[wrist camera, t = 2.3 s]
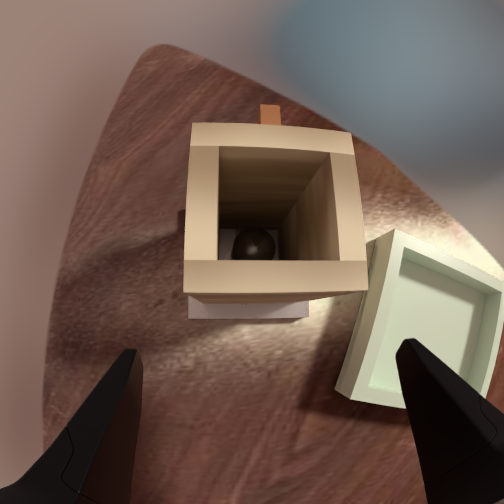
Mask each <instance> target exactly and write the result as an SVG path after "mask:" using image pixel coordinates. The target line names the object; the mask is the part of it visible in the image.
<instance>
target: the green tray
mask: <svg viewBox="0 0 504 504" xmlns="http://www.w3.org/2000/svg"><path fill="white" fill-rule="evenodd" d="M503 322H504V282H503V281H501V280H500V279H498V278H496V277H494V276H492V275H490V274H488V273H486V272H485V271H483V270H481V269H479V268H477V267H475V266H473V265H471V264H469V263H467V262H465V261H463V260H461V259H459V258H457V257H455V256H453V255H451V254H449V253H447V252H445V251H443V250H441V249H438V248H436V247H434V246H432V245H430V244H428V243H426V242H424V241H421V240H419V239H417V238H415V237H413V236H410V235H408V234H406V233H404V232H401V231H399V230H397V229H393V230H392V231H390V232H388V233H386V234H384V235H382V236H380V237H378V238H376V242H375V247H374V251H373V256H372V260H371V265H370V269H369V273H368V290H366V291H364V294H363V297H362V301H361V305H360V309H359V312H358V316H357V319H356V323H355V326H354V330H353V333H352V337H351V340H350V343H349V347H348V350H347V353H346V356H345V359H344V362H343V365H342V368H341V371H340V374H339V377H338V380H337V383H336V386H335V389H334V390H336V391H338V392H339V393H341V394H342V395H344V396H346V397H347V398H349V399H352V400H357V401H363V402H368V403H374V404H380V405H386V406H392V407H399V408H406V406H405V403H404V399H403V395H402V391H401V385H400V380H399V375H398V370H397V364H396V359H395V355H396V352H397V350H398V348H399V347H400V345H401V343H402V342H403V340H404V339H407V338H415V339H417V340H418V341H419V342H420V343H422V344H423V345H424V346H425V347H426V348H427V349H429V350H430V351H431V352H432V353H433V354H435V355H436V356H437V357H438V358H439V359H440V360H442V361H443V362H444V363H445V364H446V365H447V366H449V367H450V368H451V369H452V370H453V371H454V372H456V373H457V374H458V375H459V376H460V377H461V378H462V379H464V380H465V381H466V382H467V383H468V384H469V385H470V386H472V387H473V388H474V389H475V390H476V391H477V392H478V393H479V394H481V395H482V396H483V397H484V398H486V394H487V391H488V388H489V384H490V381H491V377H492V373H493V369H494V365H495V361H496V357H497V353H498V348H499V343H500V338H501V333H502V328H503Z"/></svg>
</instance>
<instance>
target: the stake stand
mask: <svg viewBox="0 0 504 504" xmlns="http://www.w3.org/2000/svg"><path fill="white" fill-rule="evenodd" d="M219 260H272V261H279V257H278V230H264V229H262V228H259V227H248V228H246V229H219ZM300 317H309V301H303V302H296V303H257V304H205V303H202V302H200V301H198V300H196V299H194V298H193V297H191V296H189V295H188V319H265V318H300Z"/></svg>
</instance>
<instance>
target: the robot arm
mask: <svg viewBox="0 0 504 504" xmlns="http://www.w3.org/2000/svg"><path fill="white" fill-rule="evenodd" d="M395 359H396V364H397V370H398V375H399V380H400V385H401V391H402V395H403V399H404V403H405V406H406V410H407V413H408V417H409V421H410V425H411V428H412V432H413V436H414V440H415V444H416V449H417V453H418V457H419V462H420V466H421V471H422V476H423V480H424V484H425V485H424V486H425V491H426V497H427V502H428V504H504V413H502V412H501V411H500V410H498V409H497V408H496V407H495V406H493V405H492V404H491V403H490V402H489V401H487V400H486V399H485V398H484V397H483V396H482V395H481V394H479V393H478V392H477V391H476V390H475V389H474V388H473V387H472V386H470V385H469V384H468V383H467V382H466V381H465V380H464V379H462V378H461V377H460V376H459V375H458V374H457V373H456V372H454V371H453V370H452V369H451V368H450V367H449V366H447V365H446V364H445V363H444V362H443V361H442V360H440V359H439V358H438V357H437V356H436V355H435V354H433V353H432V352H431V351H430V350H429V349H427V348H426V347H425V346H424V345H423V344H422V343H420V342H419V341H418V340H417V339H415V338H407V339H404V340H403V342H402V343H401V345H400V347H399V348H398V350H397V352H396V355H395ZM142 383H143V363H142V360H141V357H140V354H139V351H138V350H137V349H130V348H126V349H124V350H123V352H122V353H121V354H120V355H119V357H118V358H117V359H116V360H115V362H114V363H113V364H112V366H111V367H110V368H109V369H108V371H107V372H106V373H105V375H104V376H103V377H102V378H101V380H100V381H99V382H98V384H97V385H96V386H95V387H94V389H93V390H92V391H91V393H90V394H89V395H88V397H87V398H86V399H85V401H84V402H83V403H82V405H81V406H80V407H79V409H78V410H77V411H76V413H75V414H74V415H73V417H72V418H71V419H70V421H69V422H68V423H67V427H66V426H65V427H64V429H63V430H62V431H61V433H60V434H59V435H58V437H57V438H56V439H55V441H54V442H53V443H52V444H51V446H50V447H49V448H48V449H47V450H46V451H45V452H44V454H43V455H42V456H41V457H40V458H39V459H38V460H37V461H36V462H35V463H34V464H33V465H32V467H31V468H30V469H29V470H28V471H27V472H26V473H25V474H24V475H23V476H22V477H21V478H20V479H19V480H18V481H16V482H15V483H13V484H11V485H9V486H7V487H4V488H1V489H0V504H129V503H130V492H131V483H132V474H133V465H134V457H135V450H136V443H137V436H138V429H139V422H140V416H141V404H142Z"/></svg>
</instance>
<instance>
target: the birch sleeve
mask: <svg viewBox="0 0 504 504" xmlns="http://www.w3.org/2000/svg"><path fill="white" fill-rule="evenodd" d="M248 227H259V228H262V229H264V230H278V257H279V261H272V260H219V229H246V228H248ZM366 290H368V272H367V257H366V244H365V233H364V223H363V214H362V205H361V197H360V189H359V182H358V175H357V168H356V162H355V155H354V149H353V143H352V138H351V133H348V132H340V131H332V130H324V129H314V128H304V127H293V126H281V119H280V106H276V105H262V104H260V109H259V114H258V118H257V123H256V124H243V123H192V133H191V145H190V156H189V169H188V184H187V200H186V219H185V243H184V284H183V292H184V293H185V294H187V295H189V296H191V297H193V298H194V299H196V300H198V301H200V302H202V303H205V304H257V303H296V302H303V301H309V300H315V299H321V298H327V297H333V296H339V295H344V294H350V293H355V292H361V291H366Z"/></svg>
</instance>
